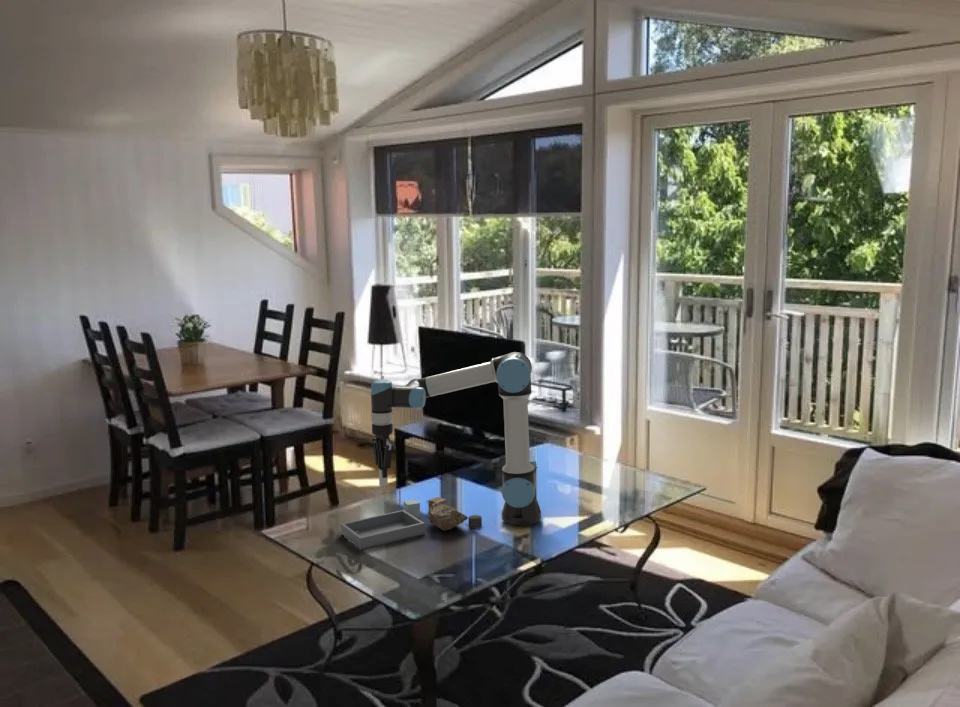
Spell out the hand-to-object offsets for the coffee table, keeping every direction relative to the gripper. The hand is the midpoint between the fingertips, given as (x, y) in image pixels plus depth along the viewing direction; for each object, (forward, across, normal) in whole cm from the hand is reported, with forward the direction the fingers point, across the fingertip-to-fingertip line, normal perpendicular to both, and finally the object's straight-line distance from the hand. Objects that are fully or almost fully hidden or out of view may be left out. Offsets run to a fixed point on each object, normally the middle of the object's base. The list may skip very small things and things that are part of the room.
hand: (383, 485), depth 295 cm
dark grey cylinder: (+19, -13, -32) cm, 39 cm away
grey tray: (+19, 0, +1) cm, 19 cm away
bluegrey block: (+19, +11, -17) cm, 28 cm away
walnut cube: (+19, +10, -28) cm, 35 cm away
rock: (+19, -7, -24) cm, 31 cm away
